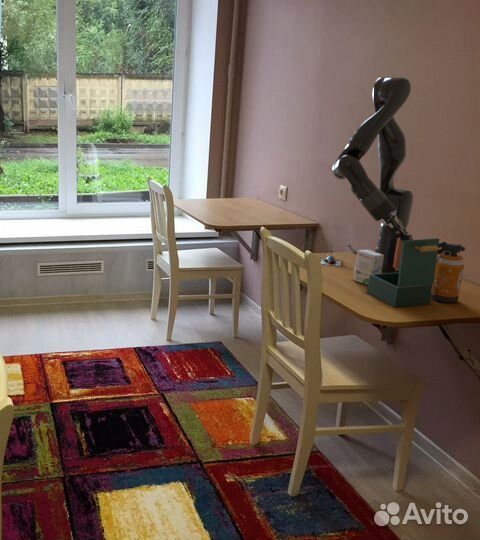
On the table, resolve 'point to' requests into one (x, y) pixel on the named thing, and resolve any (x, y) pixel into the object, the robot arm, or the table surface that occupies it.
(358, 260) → the ink box
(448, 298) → the canister
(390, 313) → the table surface
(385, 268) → the robot arm
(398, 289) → the chest
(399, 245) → the jar
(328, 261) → the bomb figurine
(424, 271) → the lid
